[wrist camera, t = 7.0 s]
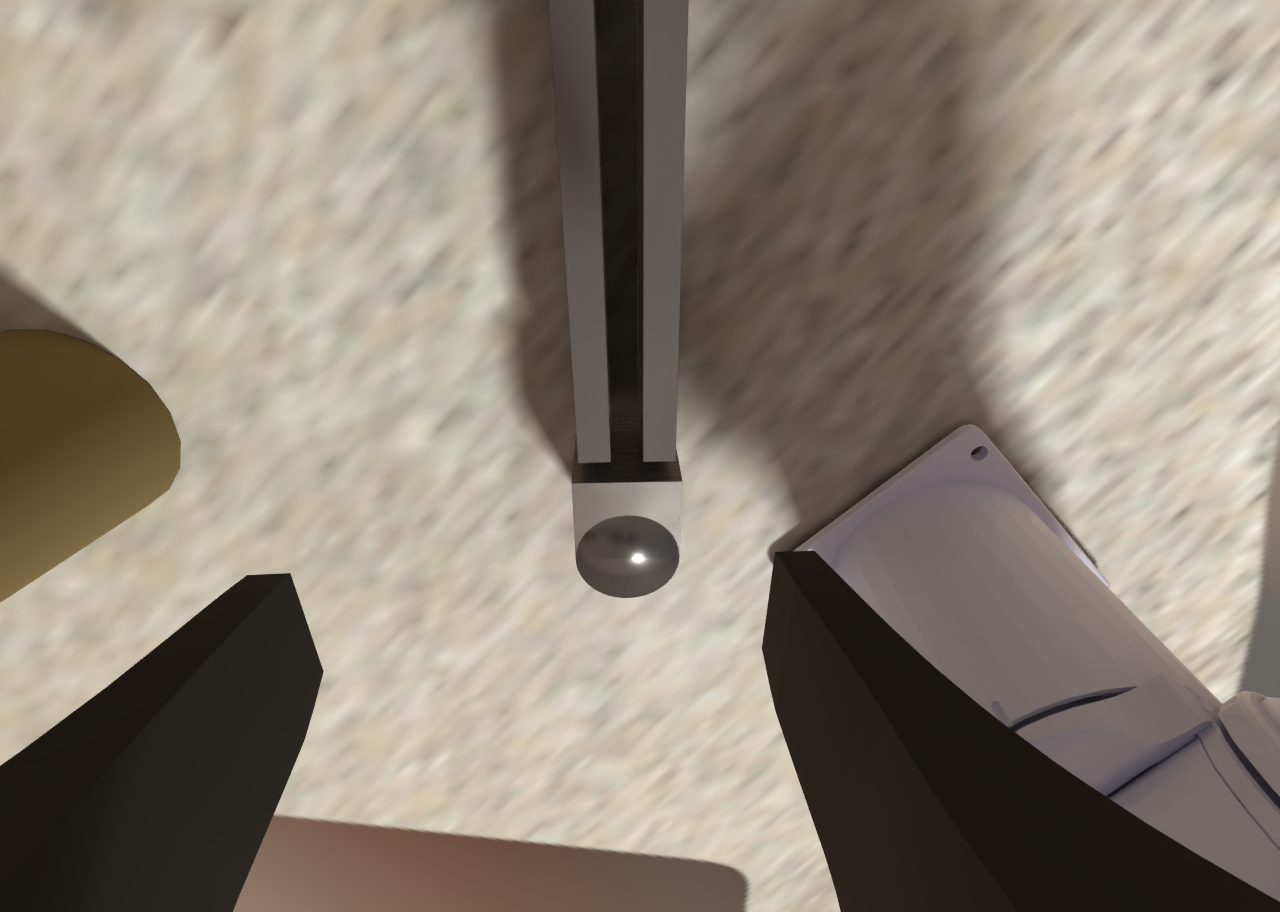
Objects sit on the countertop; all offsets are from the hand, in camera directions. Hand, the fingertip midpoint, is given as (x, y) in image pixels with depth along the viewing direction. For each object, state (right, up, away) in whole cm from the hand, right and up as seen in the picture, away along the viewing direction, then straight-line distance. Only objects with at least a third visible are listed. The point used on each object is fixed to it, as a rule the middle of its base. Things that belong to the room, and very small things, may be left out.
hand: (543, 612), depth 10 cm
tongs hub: (+1, +2, +11) cm, 11 cm away
